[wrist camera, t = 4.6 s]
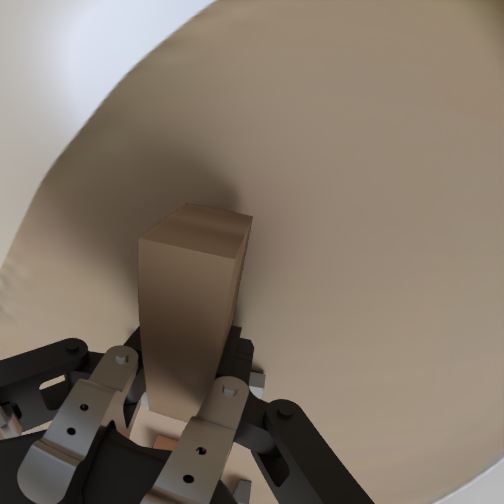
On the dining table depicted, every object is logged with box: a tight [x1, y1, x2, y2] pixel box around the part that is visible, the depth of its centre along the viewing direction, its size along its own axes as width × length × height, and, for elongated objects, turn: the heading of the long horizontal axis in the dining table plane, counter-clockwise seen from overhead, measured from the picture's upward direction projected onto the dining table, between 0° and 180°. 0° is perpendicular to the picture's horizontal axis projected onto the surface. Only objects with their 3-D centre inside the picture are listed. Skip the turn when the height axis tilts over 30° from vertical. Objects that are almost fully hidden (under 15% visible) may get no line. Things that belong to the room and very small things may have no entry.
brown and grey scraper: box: [138, 203, 265, 422], centre depth 11 cm, size 13×7×4 cm, turn 168°
